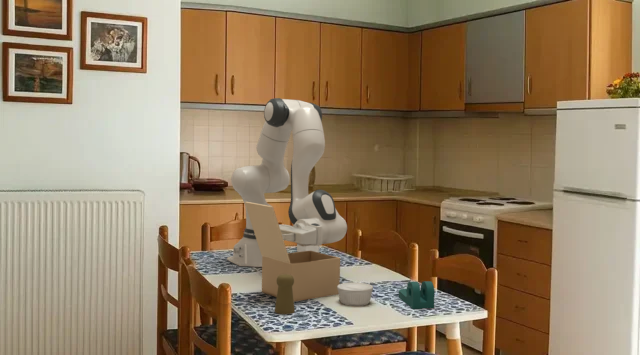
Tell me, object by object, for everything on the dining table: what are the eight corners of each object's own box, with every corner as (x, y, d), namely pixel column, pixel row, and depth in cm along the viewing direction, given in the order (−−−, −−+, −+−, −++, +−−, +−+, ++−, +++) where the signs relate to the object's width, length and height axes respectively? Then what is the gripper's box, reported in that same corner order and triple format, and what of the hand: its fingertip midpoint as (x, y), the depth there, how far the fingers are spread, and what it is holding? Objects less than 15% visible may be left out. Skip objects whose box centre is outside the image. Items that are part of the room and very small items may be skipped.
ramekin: (334, 305, 220) (335, 289, 219) (338, 297, 231) (339, 281, 230) (371, 308, 218) (371, 291, 218) (373, 299, 229) (374, 283, 229)
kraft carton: (261, 292, 235) (262, 256, 234) (309, 284, 247) (310, 250, 246) (290, 302, 222) (291, 264, 222) (339, 293, 235) (340, 257, 234)
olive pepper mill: (299, 311, 211) (299, 275, 210) (283, 315, 207) (284, 277, 206) (285, 307, 215) (286, 271, 215) (270, 311, 211) (270, 274, 210)
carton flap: (262, 254, 234) (261, 255, 233) (245, 201, 228) (244, 202, 228) (290, 262, 222) (289, 263, 222) (273, 206, 216) (271, 207, 216)
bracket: (433, 309, 219) (434, 283, 218) (412, 309, 218) (413, 284, 217) (415, 295, 237) (416, 271, 236) (396, 295, 235) (396, 272, 235)
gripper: (286, 219, 242) (252, 222, 233) (325, 226, 226) (290, 229, 217) (286, 237, 242) (252, 241, 234) (324, 246, 227) (289, 250, 218)
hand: (270, 235), depth 225 cm, fingers open, 7 cm apart
